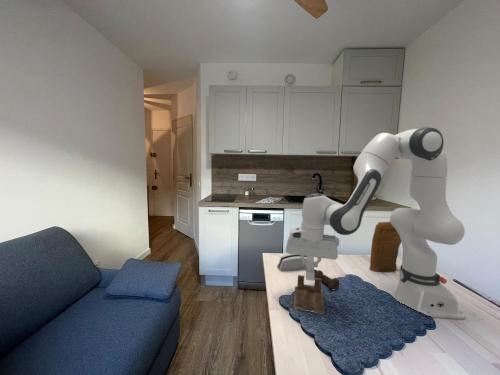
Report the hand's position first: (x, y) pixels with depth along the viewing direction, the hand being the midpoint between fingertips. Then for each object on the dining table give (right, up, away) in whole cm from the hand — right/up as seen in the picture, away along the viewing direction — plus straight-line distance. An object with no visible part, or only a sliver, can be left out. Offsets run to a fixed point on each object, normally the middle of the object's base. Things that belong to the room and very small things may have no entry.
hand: (310, 266), depth 90 cm
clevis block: (0, -15, +2) cm, 15 cm away
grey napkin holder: (-1, -12, +30) cm, 32 cm away
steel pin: (0, -2, 0) cm, 2 cm away
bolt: (+11, -14, +17) cm, 24 cm away
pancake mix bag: (+49, -13, +30) cm, 59 cm away
